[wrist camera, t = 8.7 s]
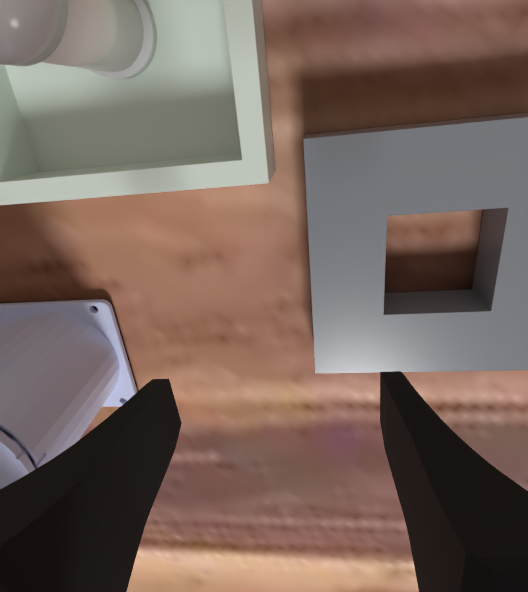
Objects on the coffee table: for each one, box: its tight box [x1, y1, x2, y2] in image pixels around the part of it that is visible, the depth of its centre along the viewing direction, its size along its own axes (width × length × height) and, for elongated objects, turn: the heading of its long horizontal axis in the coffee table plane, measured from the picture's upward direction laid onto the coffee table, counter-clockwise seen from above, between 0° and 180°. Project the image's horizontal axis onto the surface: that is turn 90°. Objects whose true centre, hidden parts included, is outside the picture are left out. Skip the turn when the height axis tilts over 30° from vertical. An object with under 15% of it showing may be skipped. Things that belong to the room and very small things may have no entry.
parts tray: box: [0, 0, 275, 205], centre depth 16 cm, size 13×13×4 cm
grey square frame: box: [303, 113, 528, 373], centre depth 19 cm, size 12×12×2 cm
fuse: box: [0, 0, 157, 79], centre depth 13 cm, size 4×4×8 cm
